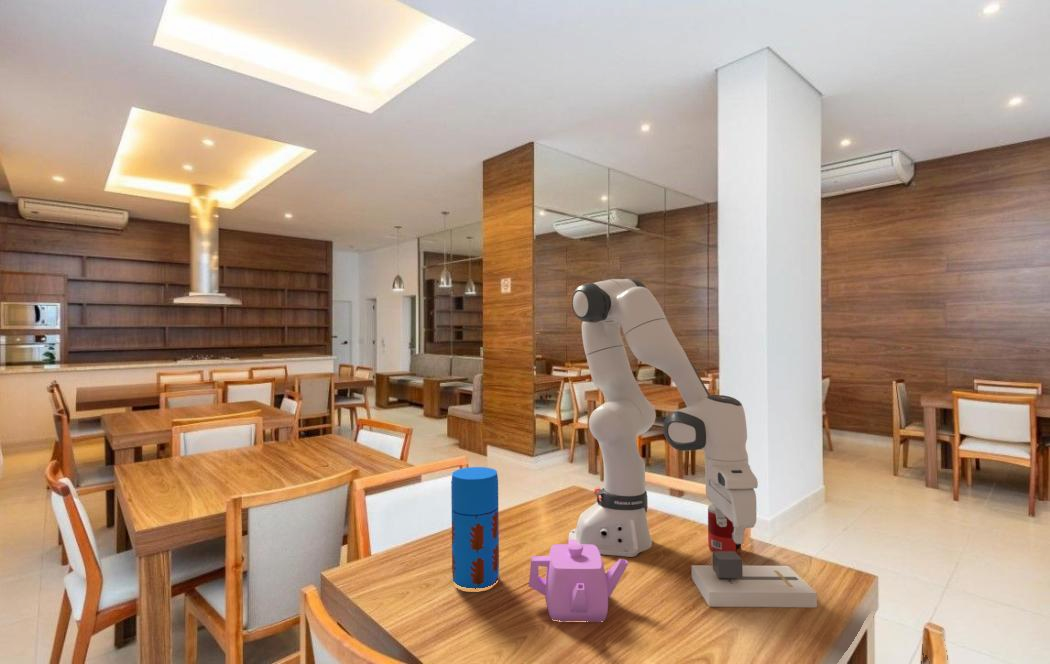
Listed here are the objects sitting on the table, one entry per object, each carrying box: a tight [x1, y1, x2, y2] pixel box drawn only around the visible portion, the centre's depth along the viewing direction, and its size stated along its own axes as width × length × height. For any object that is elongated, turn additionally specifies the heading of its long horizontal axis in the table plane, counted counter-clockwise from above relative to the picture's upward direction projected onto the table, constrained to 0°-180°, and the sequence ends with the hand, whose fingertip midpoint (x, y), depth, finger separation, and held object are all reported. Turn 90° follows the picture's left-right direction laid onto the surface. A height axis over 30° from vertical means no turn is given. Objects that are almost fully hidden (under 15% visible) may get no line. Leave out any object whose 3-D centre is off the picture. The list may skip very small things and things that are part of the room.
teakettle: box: [528, 538, 629, 623], centre depth 104 cm, size 17×17×12 cm
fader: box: [711, 551, 743, 578], centre depth 109 cm, size 5×4×5 cm
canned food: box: [707, 503, 742, 556], centre depth 130 cm, size 8×8×11 cm
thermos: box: [450, 466, 500, 589], centre depth 115 cm, size 11×11×25 cm
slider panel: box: [691, 564, 818, 608], centre depth 109 cm, size 22×12×3 cm, turn 88°
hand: (729, 533), depth 108 cm, fingers open, 8 cm apart
